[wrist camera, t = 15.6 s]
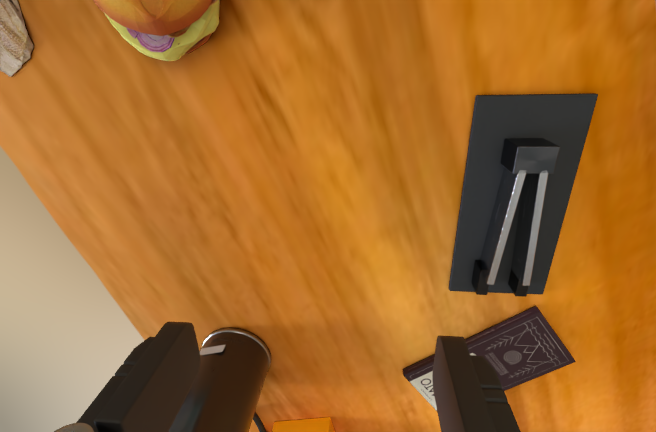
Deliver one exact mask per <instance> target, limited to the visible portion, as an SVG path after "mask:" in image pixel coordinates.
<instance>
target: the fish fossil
mask: <svg viewBox="0 0 656 432" xmlns="http://www.w3.org/2000/svg"><path fill="white" fill-rule="evenodd" d="M33 47H34V46H33V44H32V42H31V40H30V38H29V36H28V34H27V30H26V28H25V24H24V20H23V17H22V13H21V10H20V7H19V4H18V1H17V0H0V71H2V72H4V73H6V74H7V75H8V76H12V75H13V74H14V73H15V72H16V71H17V70H18V69H20V68H21V65H22V64H23V63H24V62H26V61H27V60H28V59H30V53H31V51H32V50H33Z"/></svg>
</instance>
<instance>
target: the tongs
mask: <svg viewBox="0 0 656 432" xmlns="http://www.w3.org/2000/svg"><path fill="white" fill-rule="evenodd" d="M559 150H560V146H558V145H556V144H554V143H552V142H550V141H548V140H546V139H544V138H505V140H504V146H503V151H502V157H501V162H500V163H501V164H502V165H503V166H504V170H503V173H502V177H501V181H500V185H499V189H498V192H497V196H496V200H495V204H494V208H493V211H492V215H491V219H490V223H489V227H488V231H487V234H486V238H485V242H484V246H483V250H482V253H481V257H480V260H475V263H474V269H473V275H472V281H471V283H472V285H473V287H474V290H475V292H476V294H480V295H487V292H488V287H489V284H490V285H494V282H495V279H496V275H497V272H498V268H499V265H500V262H501V258H502V255H503V251H504V248H505V244H506V241H507V238H508V234H509V231H510V227H511V224H512V220H513V217H514V214H515V210H516V207H517V203H518V200H519V196H520V193H521V199H520V206H519V214H518V221H517V229H516V236H515V243H514V251H513V258H512V265H511V272H510V277H509V281H508V285H509V286H510V288H511V290H512V291H513V293H514V295H515V296H526V295H527V291H528V287H529V286H530V281H531V275H532V269H533V263H534V257H535V251H536V245H537V239H538V233H539V227H540V221H541V214H542V208H543V202H544V196H545V190H546V184H547V178H548V174H554V170H555V166H556V162H557V158H558V154H559ZM521 190H522V192H521Z"/></svg>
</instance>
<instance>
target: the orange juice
mask: <svg viewBox="0 0 656 432" xmlns="http://www.w3.org/2000/svg"><path fill="white" fill-rule="evenodd" d="M272 432H335V429H334V426H333V423H332V421H331V418H330V417H324V418H313V419H301V420H290V421H278V422H274V426H273V430H272Z"/></svg>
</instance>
